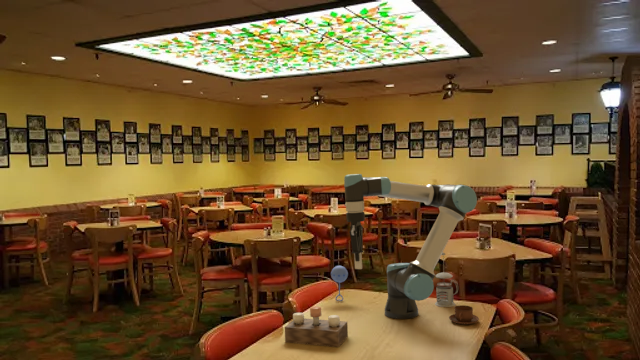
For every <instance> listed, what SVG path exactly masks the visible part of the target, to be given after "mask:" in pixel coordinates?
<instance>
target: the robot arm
mask: <svg viewBox="0 0 640 360" xmlns="http://www.w3.org/2000/svg"><path fill="white" fill-rule="evenodd" d="M343 180H344V183H343V184H344V185H343V187H344V197H345V204H344V207H345V211H346V214H345V215H346V216H345V218H346V221H347V222H348V223H351V224H350V227H349V228H350V230H349V236H350V244H351V249H352V250H351V251H352V252H351V254H353V255H354V256H353V257H354V269H355V270H362V269H363V257H362V253H364V250H363V247H364V246H363V238H364V237H363V235H364V234H363V233H364V227H363V226H362V223H361V222H364V221H365V220H366V218H365V217H366V214H365V211H364V210H365V197H372V196H373V197H374V196H375V197H383V198H389V199H390V198H391V199H396V200H404V201H405V200H406V201H411V202H412V201H413V202H417V203H418V202H419V203H424V205H425V206H432V207H435V208H438V210H439V213H438V216H437V217H436V220H435V221H434V223H433V225H432V227H431V229H430V231H429V233H428V235H427V237H426V239H425V240H424V242H423V245H422V247H421V249H420V251H419V253H418V254H417V256H416V259H415V260H413V261H410V262H398V263H391V264H387V267H386V279H387V281H386V282H387V283H386V284H387V285H386V286H387V299H386V303H385V306H384V315H385V316H386V317H387V318H391V319H396V320H397V319H398V320H405V319H406V320H407V319H413V318H416V317H418V316H419V308H418V305H417V302H419V301H424V300H426V299H428V298H429V297H430V296H431V295H432V293H433V292H434V288H435V285H434V279H435V277H436V274H435V271H434V270H435V268H436V266H437V264H438V262H439V260H440V258H441V256H442V255H441V254H442V253H443V252H444V250H445V248H446V246H447V245H448V242H449V240H450V238H451V236H452V234H453V233H454V230H455V228H456V227H457V225H458V223H459V222H461V221H463V220H464V219H465V217H466V215H467V214H468V213H471V212H472V211H474V210H475V208H476V206H477V203H478V198H477V197H478V196H477V195H476V194H477V193H476V192H475V190H474V189H473V188H472V187H471V186H468V185H464V184H431V183H430V184H427V185H421V184H415V183H414V184H413V183H408V182H401V181H395V180H390V178H389V177H387V176H377V177H376V176H375V177H370V176H369V177H367V176H366V177H365V176H363V174H362V173H351V174H346V175H344V179H343ZM416 301H417V302H416Z"/></svg>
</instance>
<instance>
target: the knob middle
mask: <svg viewBox="0 0 640 360" xmlns="http://www.w3.org/2000/svg"><path fill="white" fill-rule="evenodd" d="M309 315H310V317H311V318H312V319H313V326H319V320H320V317H322V307H321V306H318V305H317V306H311V307H310V308H309Z"/></svg>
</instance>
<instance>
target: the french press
mask: <svg viewBox="0 0 640 360" xmlns="http://www.w3.org/2000/svg"><path fill="white" fill-rule="evenodd" d="M441 256H442V261H443V263H442V264H443V265H442V266H443V269H445V262H444V261H445V260H444V256H446V253H445V252H444V251H443V252H442V254H441ZM453 276H454V275H453V274H451V273H449V272H445V271H443V272H439V273H437V274H435V278H437V279H440V280H441V279H442V280H446V279H451V278H453ZM453 283H454V284H455V287H456V290H455V293H454V287H453ZM458 286H459V284H458V282H457V281H456V280H455V279H454V278H453V279H451V280H450V282H445V281H442V282H437V284H436V289H435V290H436V302H435V303H434V305H435V306H437V307H440V308H450V307H451V308H452V307H456V306H457V305H456V303H455V302H454V295H456V294H458V292H459V290H458Z"/></svg>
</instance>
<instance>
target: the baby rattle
mask: <svg viewBox="0 0 640 360" xmlns="http://www.w3.org/2000/svg"><path fill="white" fill-rule="evenodd" d="M330 276H331V279H332V280H333V281H334V282H335V283H338V294H337V295H336V296H335V298H334V299H335V301H337V302H342V301H344V296H343V295H341V283H344V282H345V281H346V280H347V278H348V276H349V272H348V270H347V268H346V267H345V266H342V265H335V266H334V267H333V268H332V269H331V271H330ZM338 297H341V298H340V299H337V298H338Z"/></svg>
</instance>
